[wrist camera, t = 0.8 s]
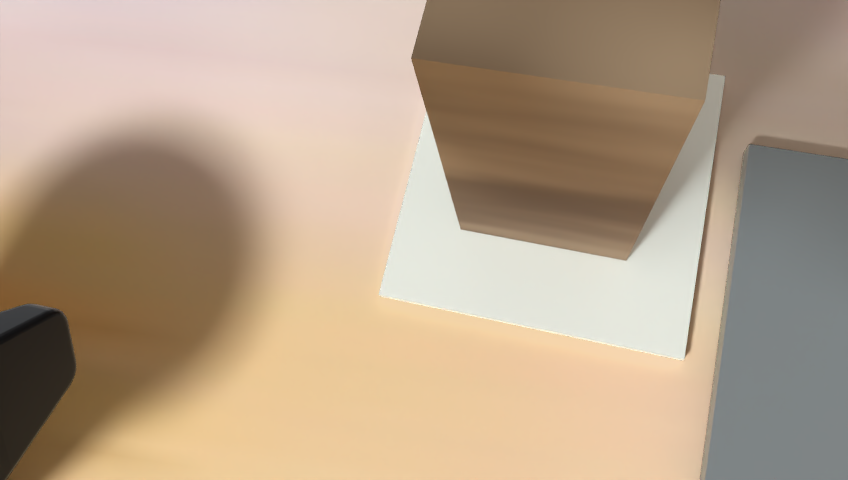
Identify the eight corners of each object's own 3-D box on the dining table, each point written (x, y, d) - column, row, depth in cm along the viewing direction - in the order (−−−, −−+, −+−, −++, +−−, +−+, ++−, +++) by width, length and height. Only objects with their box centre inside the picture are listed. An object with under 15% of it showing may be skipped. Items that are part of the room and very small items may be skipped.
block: (626, 260, 21) (705, 100, 12) (460, 229, 22) (411, 58, 13) (647, 137, 22) (735, -101, 13) (488, 112, 23) (461, -126, 14)
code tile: (682, 360, 21) (684, 359, 20) (380, 296, 22) (378, 294, 22) (722, 80, 23) (725, 75, 23) (446, 42, 25) (445, 37, 24)
